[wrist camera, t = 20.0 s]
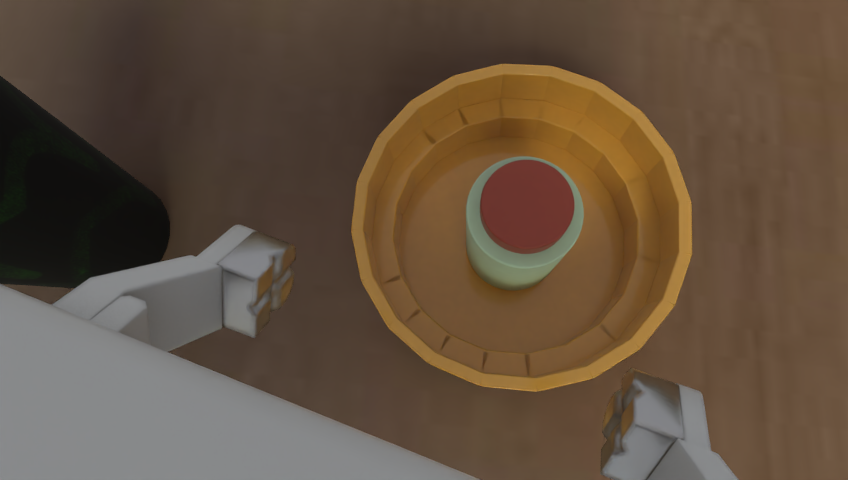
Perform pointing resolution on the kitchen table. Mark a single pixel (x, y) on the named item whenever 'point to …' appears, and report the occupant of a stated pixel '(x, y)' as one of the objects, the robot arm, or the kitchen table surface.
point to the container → (521, 221)
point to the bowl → (575, 273)
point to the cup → (67, 203)
